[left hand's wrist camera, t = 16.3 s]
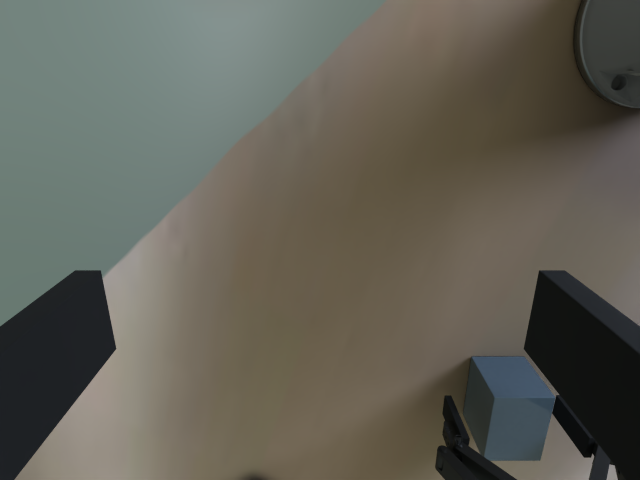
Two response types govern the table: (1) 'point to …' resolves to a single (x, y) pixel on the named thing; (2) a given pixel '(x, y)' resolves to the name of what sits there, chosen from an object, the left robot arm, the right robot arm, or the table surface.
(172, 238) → the table surface
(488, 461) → the right robot arm
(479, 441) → the brick
